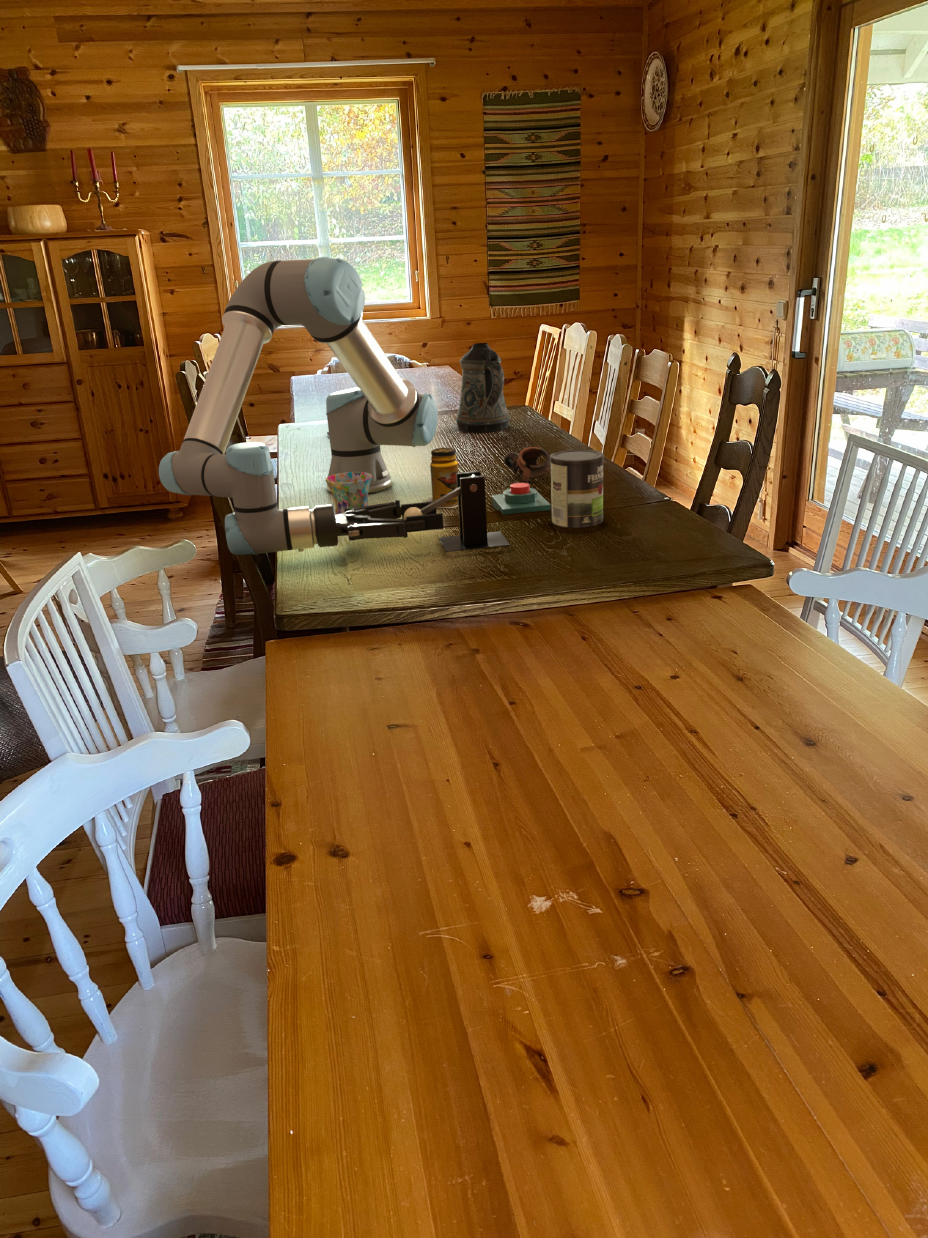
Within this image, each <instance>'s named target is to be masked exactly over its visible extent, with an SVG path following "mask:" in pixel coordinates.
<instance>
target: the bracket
mask: <svg viewBox="0 0 928 1238" xmlns="http://www.w3.org/2000/svg"><path fill="white" fill-rule="evenodd" d="M472 474H474V475H475V476H473V477H469V476H470V475H472ZM456 479H457V488H458V487H460V492H461V494H460V495H458V507H457V512H458V513H457V514H458V530H459V535H450V536H440V537H438V540H439V543H440V544H441V546H442V548H443V550H444V552H445V553H450V552H462V551H469V550H480V549H481V550H482V549H490V548H498V547H508V546H511V544H510V543H509V541H508V540H507V538H506V537H505V536H504V534H503V533H502V532H501V531H500V530H498V531H490V532H488V519H487V518H488V517H487V499H486V478H485V475H481V471H480V470H473V471H472V470H471V471H462V472H458V473H456Z"/></svg>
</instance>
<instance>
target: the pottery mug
mask: <svg viewBox="0 0 928 1238" xmlns="http://www.w3.org/2000/svg"><path fill="white" fill-rule="evenodd" d="M542 455H543V456H544V457H545V461H544V462H543V463H541V464H539V463H538V462H537V461H538V458H540V457H542ZM503 462H504V463H505V466H506V467H507V468H508V469H510V470H511V472H512V473H513V474H514V475H517V474H519V476H521V480H522V481H523V482H524V483H528V482H529V481H530V480H531V479H534V478H538V477H541V476H543V475H546V474H547V473H548V472H549V471H550V470H551V460H550V454H549V453H548V451H547V450H545V449H544V448H542V447H538V446H528V447H525V448H523V449H522V450H520V452H519V453H517V452H514V451H509V452H506V453H505V455H504V457H503Z"/></svg>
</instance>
